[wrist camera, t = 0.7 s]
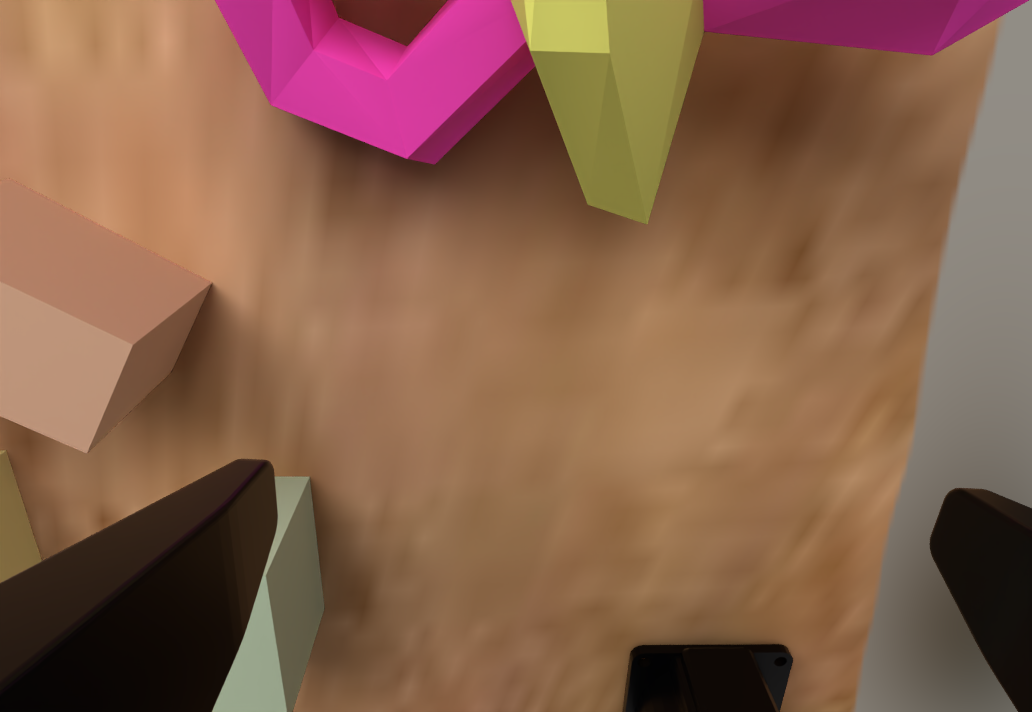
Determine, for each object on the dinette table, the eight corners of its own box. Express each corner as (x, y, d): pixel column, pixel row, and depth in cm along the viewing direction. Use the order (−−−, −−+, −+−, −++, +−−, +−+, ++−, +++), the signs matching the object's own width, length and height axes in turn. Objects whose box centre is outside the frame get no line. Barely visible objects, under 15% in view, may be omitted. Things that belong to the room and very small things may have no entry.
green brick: (325, 607, 26) (288, 724, 21) (232, 607, 26) (176, 725, 21) (310, 475, 23) (265, 575, 19) (208, 474, 23) (138, 575, 19)
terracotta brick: (213, 281, 21) (132, 345, 16) (172, 370, 22) (86, 453, 17) (11, 177, 19) (-140, 214, 15) (-21, 278, 20) (-171, 342, 16)
